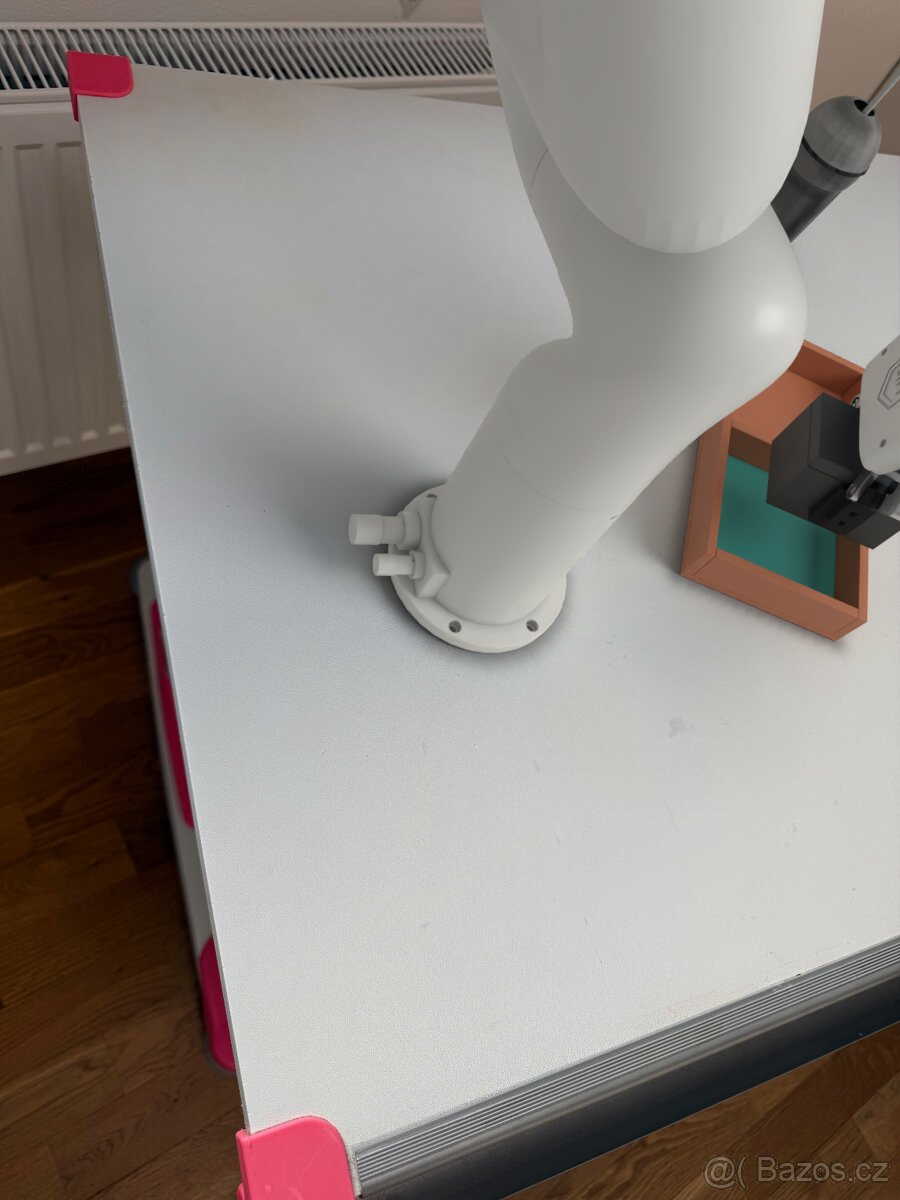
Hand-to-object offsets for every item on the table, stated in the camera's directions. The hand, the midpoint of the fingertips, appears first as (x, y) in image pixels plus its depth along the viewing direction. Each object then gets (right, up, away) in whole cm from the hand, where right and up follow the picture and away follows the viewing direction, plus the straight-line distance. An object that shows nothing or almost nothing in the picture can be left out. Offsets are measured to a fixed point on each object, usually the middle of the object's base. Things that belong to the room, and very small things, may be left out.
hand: (828, 487), depth 70 cm
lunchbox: (0, 0, +1) cm, 1 cm away
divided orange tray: (-1, +2, +9) cm, 10 cm away
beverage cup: (+2, +26, +24) cm, 35 cm away
